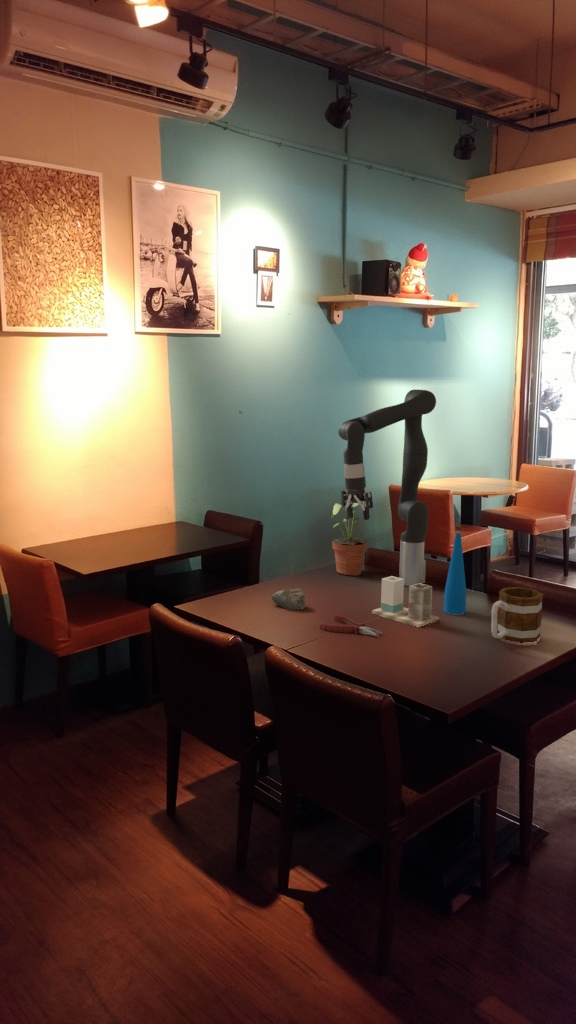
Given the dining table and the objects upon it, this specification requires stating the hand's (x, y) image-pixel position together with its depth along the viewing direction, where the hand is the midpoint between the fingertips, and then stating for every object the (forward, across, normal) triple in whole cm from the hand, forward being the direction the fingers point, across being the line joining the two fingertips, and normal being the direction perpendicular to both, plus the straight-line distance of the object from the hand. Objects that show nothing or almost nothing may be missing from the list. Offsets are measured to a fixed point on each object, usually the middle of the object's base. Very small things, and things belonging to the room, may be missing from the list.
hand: (358, 518), depth 291 cm
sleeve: (+28, -24, +10) cm, 38 cm away
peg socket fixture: (+30, -30, +10) cm, 43 cm away
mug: (+33, -66, +1) cm, 74 cm away
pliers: (+28, -29, +35) cm, 53 cm away
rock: (+26, +4, +33) cm, 42 cm away
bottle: (+32, -37, -8) cm, 49 cm away
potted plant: (+28, +25, -14) cm, 40 cm away
